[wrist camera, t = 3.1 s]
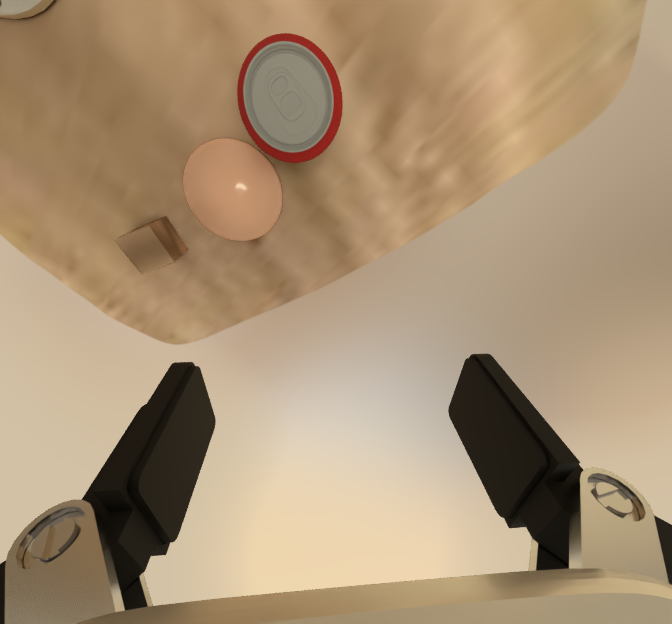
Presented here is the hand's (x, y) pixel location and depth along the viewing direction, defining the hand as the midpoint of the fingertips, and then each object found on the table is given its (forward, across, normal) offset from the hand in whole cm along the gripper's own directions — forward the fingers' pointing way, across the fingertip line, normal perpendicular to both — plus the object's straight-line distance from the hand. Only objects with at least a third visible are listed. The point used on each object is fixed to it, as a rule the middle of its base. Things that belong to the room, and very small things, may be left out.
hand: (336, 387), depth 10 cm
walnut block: (+26, +18, +3) cm, 32 cm away
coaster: (+26, +9, -2) cm, 27 cm away
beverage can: (+26, +2, -10) cm, 28 cm away
